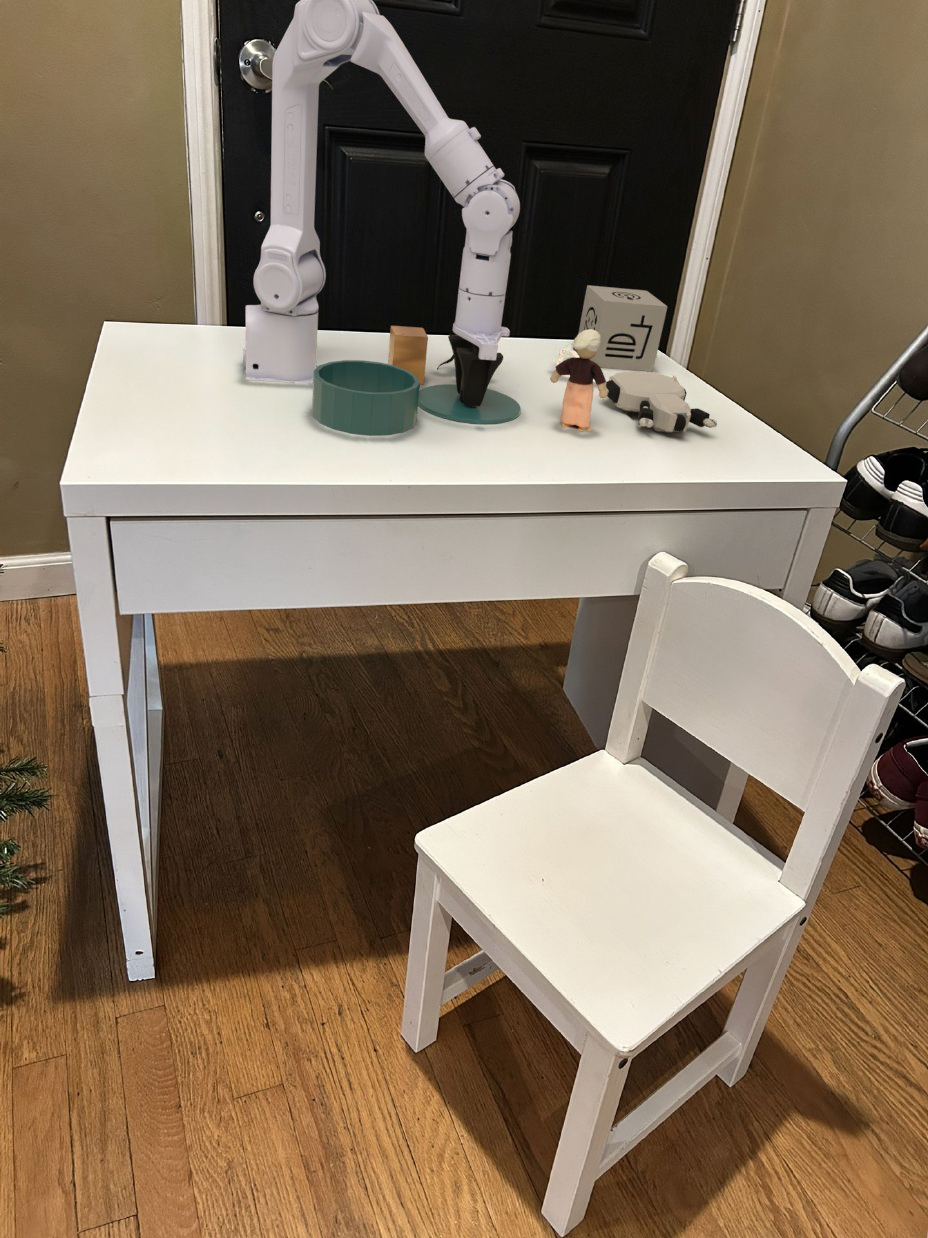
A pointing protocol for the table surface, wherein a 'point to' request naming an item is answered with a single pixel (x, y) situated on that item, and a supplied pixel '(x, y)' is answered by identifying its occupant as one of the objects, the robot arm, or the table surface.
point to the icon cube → (624, 326)
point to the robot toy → (655, 401)
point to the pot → (365, 397)
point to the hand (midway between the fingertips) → (468, 398)
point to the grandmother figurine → (581, 381)
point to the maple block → (408, 349)
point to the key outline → (569, 352)
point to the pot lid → (452, 406)
